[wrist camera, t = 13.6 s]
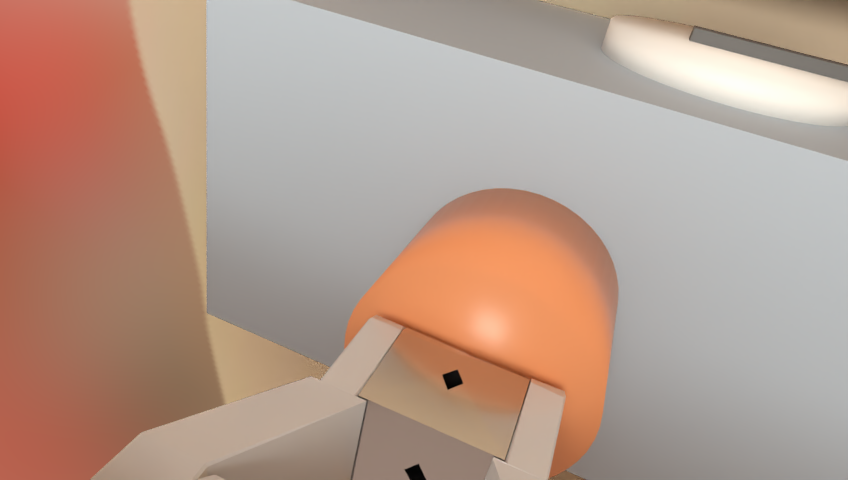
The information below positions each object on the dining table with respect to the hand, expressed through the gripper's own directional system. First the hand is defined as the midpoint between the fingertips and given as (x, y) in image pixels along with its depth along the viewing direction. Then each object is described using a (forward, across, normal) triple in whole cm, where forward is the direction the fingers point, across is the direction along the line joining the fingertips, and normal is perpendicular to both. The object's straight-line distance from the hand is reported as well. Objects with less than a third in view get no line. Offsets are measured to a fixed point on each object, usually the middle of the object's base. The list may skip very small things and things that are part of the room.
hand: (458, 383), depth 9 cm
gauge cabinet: (+12, 0, 0) cm, 12 cm away
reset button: (+3, 0, 0) cm, 3 cm away
